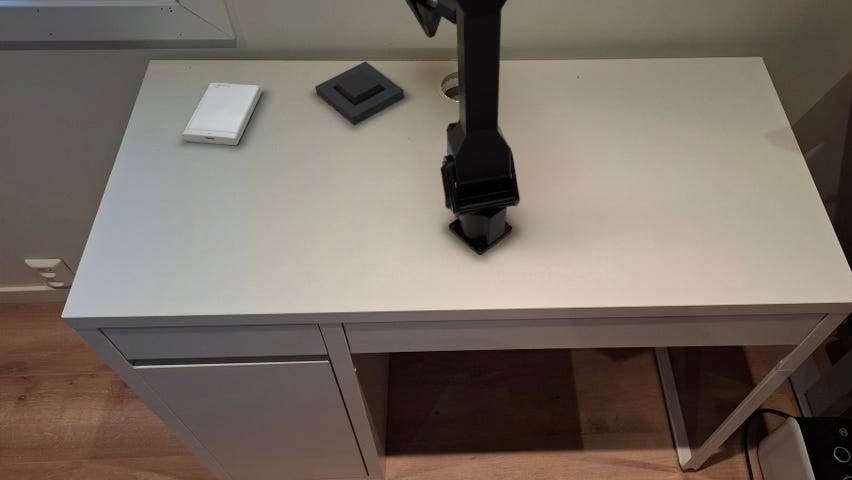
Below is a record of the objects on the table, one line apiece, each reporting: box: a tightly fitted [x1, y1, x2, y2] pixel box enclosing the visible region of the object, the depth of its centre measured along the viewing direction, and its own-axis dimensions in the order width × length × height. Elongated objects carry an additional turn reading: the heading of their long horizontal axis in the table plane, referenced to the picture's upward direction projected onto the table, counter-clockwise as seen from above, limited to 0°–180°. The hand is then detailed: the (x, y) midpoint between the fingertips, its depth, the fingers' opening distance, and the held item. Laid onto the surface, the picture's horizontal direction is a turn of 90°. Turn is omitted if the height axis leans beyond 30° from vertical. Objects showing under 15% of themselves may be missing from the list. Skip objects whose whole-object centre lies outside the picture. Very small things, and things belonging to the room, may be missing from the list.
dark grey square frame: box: [314, 60, 405, 126], centre depth 98 cm, size 10×10×2 cm
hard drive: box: [182, 82, 263, 146], centre depth 94 cm, size 2×8×12 cm
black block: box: [336, 70, 381, 106], centre depth 98 cm, size 5×5×2 cm
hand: (430, 36), depth 90 cm, fingers closed
